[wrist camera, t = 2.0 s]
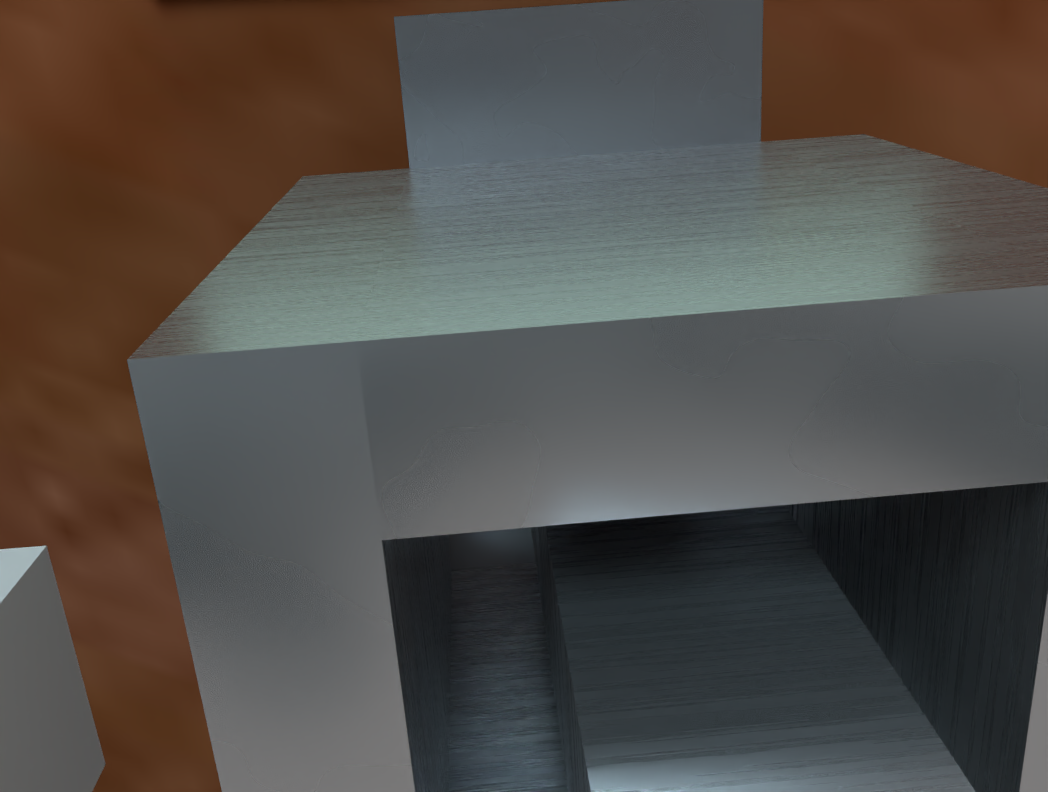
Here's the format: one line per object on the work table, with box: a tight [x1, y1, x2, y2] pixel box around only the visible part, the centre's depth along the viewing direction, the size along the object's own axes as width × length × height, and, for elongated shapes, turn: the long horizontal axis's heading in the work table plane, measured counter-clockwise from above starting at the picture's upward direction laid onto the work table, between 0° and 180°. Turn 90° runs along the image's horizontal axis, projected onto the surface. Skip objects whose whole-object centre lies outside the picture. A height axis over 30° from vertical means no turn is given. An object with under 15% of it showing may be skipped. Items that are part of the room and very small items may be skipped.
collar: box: [127, 134, 1048, 792], centre depth 12 cm, size 8×8×8 cm
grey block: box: [394, 0, 975, 792], centre depth 13 cm, size 5×12×15 cm, turn 4°
